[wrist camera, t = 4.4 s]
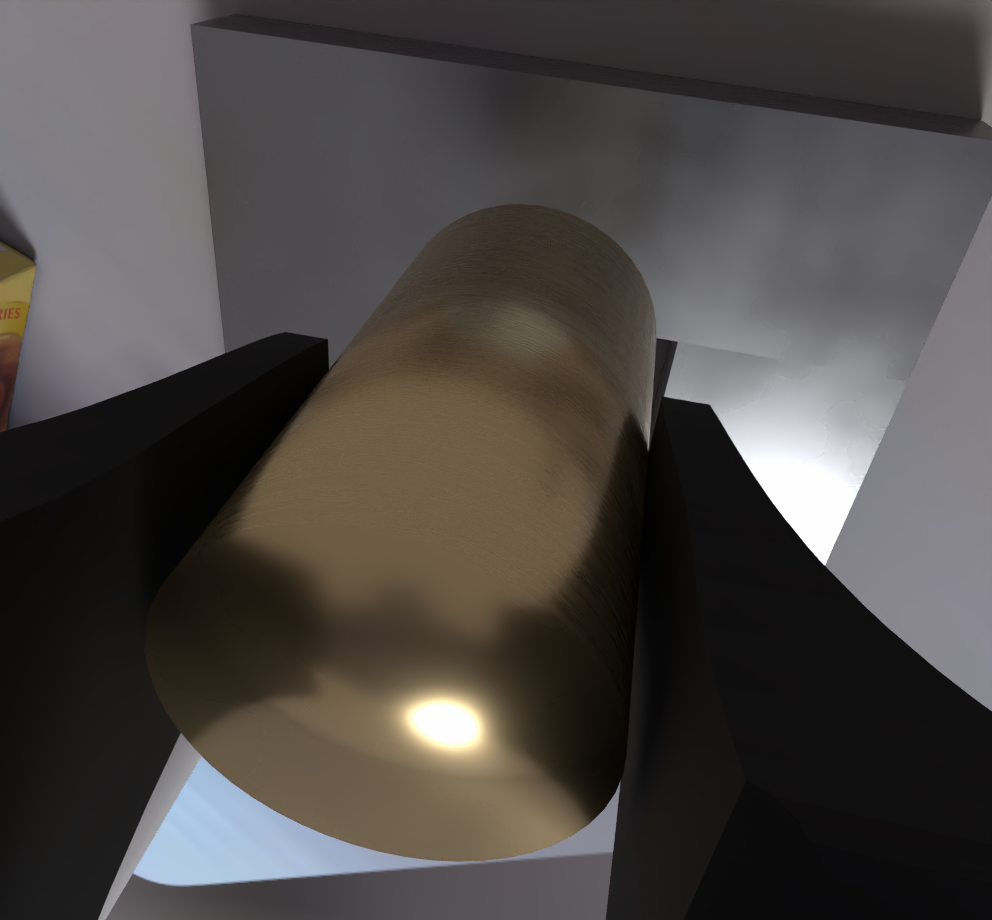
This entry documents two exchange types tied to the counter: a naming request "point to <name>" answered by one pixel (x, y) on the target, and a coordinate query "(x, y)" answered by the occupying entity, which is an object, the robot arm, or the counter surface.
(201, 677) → the end plug
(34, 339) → the counter surface
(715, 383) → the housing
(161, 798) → the pill bottle
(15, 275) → the candy box
